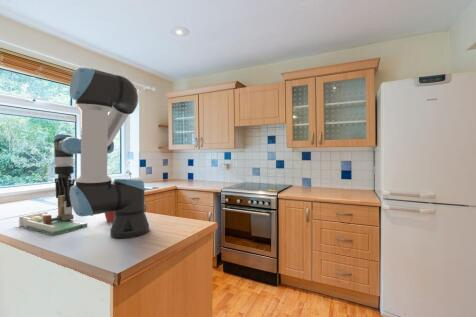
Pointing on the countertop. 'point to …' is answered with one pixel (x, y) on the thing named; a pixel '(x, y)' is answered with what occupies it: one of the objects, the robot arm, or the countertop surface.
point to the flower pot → (110, 216)
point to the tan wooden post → (59, 212)
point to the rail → (78, 223)
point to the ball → (37, 219)
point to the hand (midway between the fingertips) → (65, 213)
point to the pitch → (50, 228)
